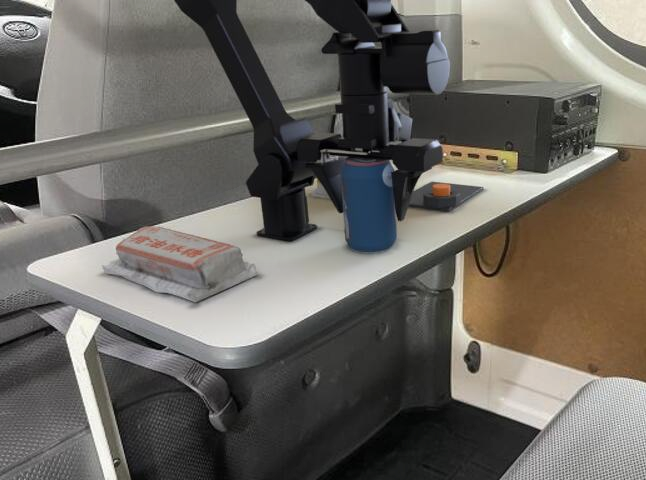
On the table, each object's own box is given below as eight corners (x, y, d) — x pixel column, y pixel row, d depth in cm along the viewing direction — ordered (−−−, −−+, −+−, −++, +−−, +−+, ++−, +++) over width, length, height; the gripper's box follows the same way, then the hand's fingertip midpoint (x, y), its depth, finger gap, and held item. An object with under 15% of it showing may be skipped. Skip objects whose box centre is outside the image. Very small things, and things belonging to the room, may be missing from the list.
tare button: (445, 198, 98) (445, 188, 97) (429, 196, 99) (429, 187, 99) (453, 194, 100) (453, 184, 99) (437, 192, 101) (437, 182, 101)
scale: (450, 213, 97) (450, 199, 96) (391, 205, 102) (391, 192, 101) (485, 190, 108) (485, 177, 107) (431, 184, 113) (431, 172, 112)
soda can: (407, 245, 85) (405, 156, 80) (371, 260, 81) (366, 167, 75) (371, 234, 89) (367, 150, 84) (335, 248, 85) (328, 159, 80)
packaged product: (255, 238, 75) (187, 266, 68) (260, 276, 77) (195, 306, 70) (161, 216, 85) (93, 238, 77) (168, 250, 87) (102, 274, 79)
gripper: (461, 86, 78) (461, 207, 85) (337, 84, 87) (346, 194, 94) (420, 98, 70) (423, 232, 76) (287, 94, 79) (300, 215, 85)
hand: (370, 216), depth 83 cm, fingers open, 9 cm apart
